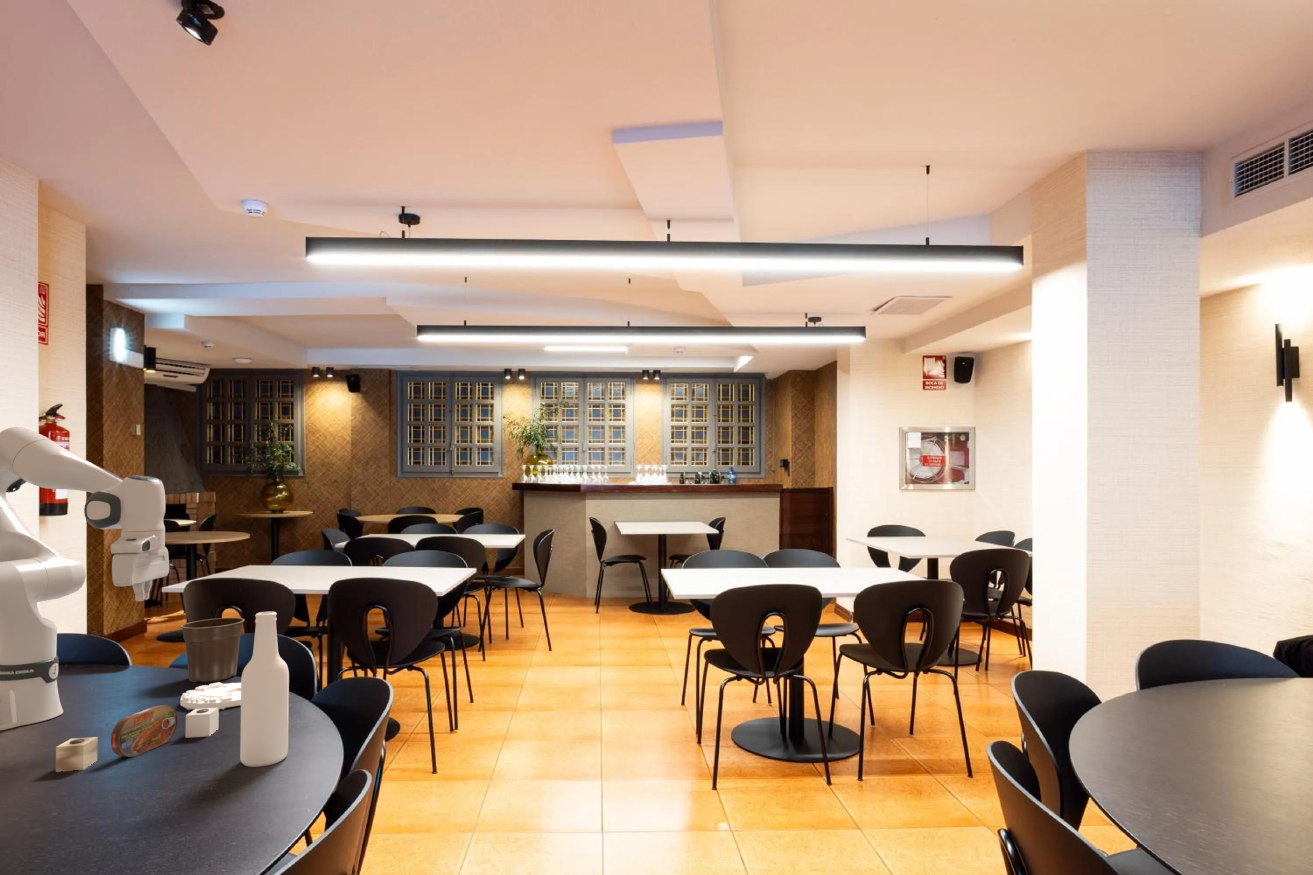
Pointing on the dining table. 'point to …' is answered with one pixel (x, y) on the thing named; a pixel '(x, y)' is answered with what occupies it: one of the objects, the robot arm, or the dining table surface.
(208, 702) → the white round plaque
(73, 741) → the birch block
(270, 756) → the white bottle
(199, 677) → the plant pot
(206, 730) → the white block
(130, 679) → the dining table surface
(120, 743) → the tin
